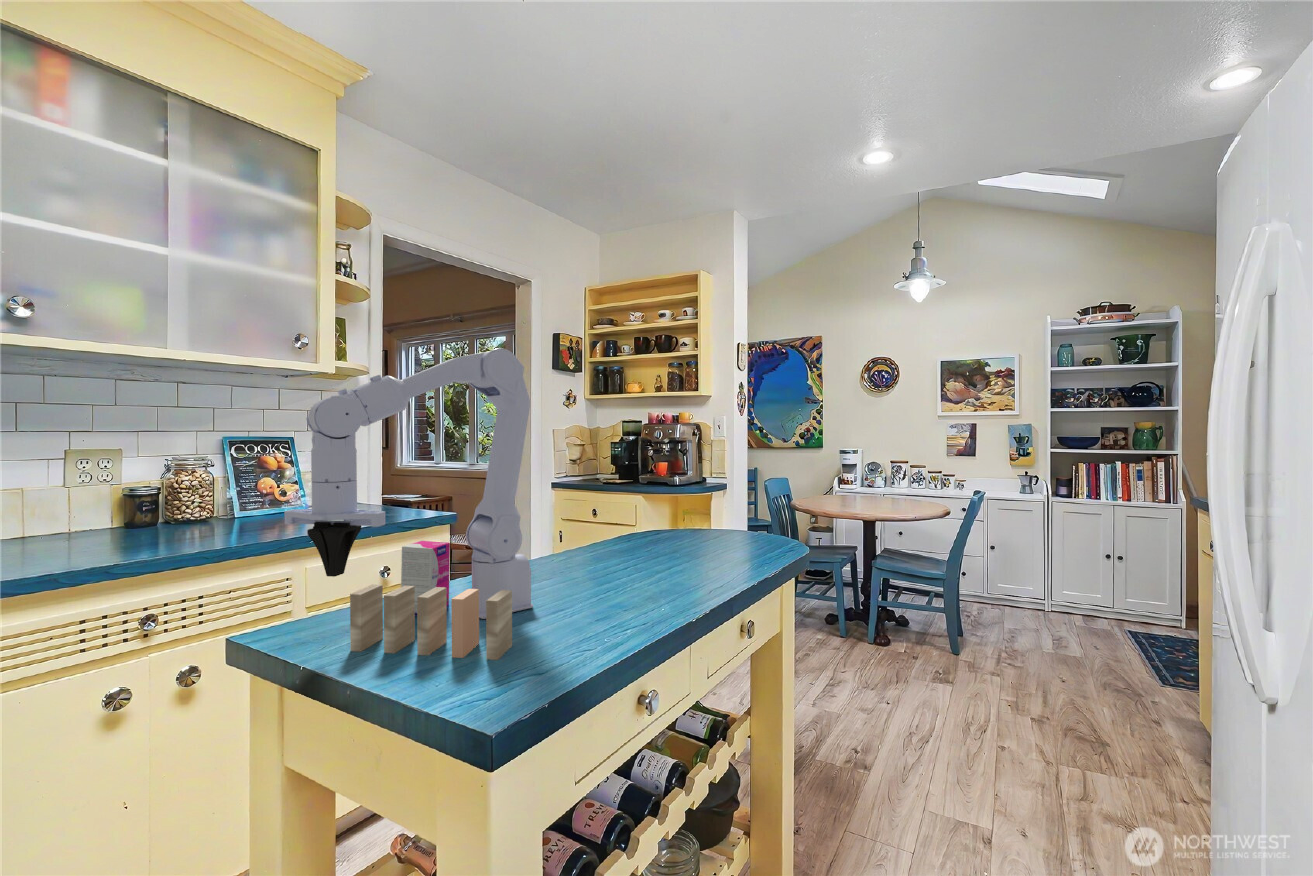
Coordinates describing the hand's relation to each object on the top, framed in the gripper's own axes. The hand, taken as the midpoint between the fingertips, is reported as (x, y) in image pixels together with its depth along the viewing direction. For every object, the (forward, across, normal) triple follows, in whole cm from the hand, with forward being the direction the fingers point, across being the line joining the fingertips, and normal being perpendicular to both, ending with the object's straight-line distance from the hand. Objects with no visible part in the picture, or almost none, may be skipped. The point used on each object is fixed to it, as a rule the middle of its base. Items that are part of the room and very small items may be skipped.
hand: (335, 574), depth 84 cm
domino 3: (+10, +15, 0) cm, 18 cm away
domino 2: (+10, +10, 0) cm, 14 cm away
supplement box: (+10, +5, +16) cm, 19 cm away
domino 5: (+10, +25, 0) cm, 27 cm away
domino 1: (+10, +5, 0) cm, 11 cm away
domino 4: (+10, +20, 0) cm, 22 cm away
